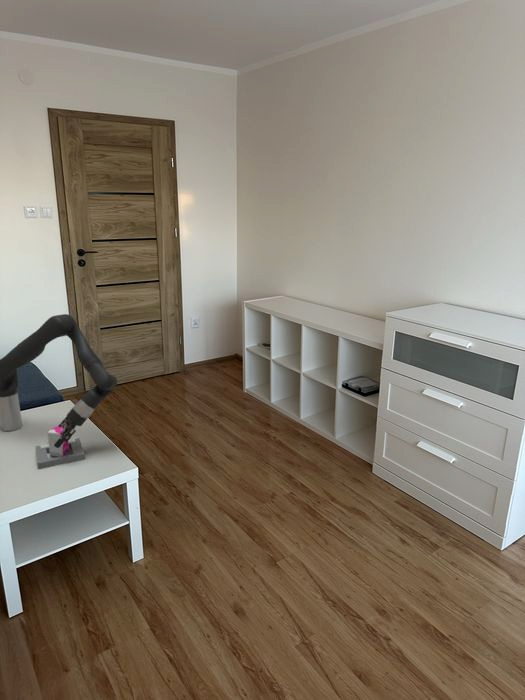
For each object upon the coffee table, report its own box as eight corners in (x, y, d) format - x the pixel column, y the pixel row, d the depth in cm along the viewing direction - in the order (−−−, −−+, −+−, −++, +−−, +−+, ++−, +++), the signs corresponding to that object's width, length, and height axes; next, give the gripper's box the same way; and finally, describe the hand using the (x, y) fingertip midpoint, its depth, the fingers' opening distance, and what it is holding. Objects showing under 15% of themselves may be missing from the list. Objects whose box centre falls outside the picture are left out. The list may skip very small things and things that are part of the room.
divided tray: (36, 451, 215) (35, 445, 214) (79, 442, 222) (79, 437, 222) (38, 469, 201) (37, 462, 200) (85, 459, 209) (84, 453, 208)
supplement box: (62, 458, 207) (59, 433, 204) (49, 456, 208) (46, 432, 205) (70, 451, 212) (67, 427, 209) (57, 450, 214) (54, 426, 210)
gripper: (71, 401, 214) (46, 431, 212) (75, 414, 201) (48, 445, 200) (85, 410, 217) (60, 439, 216) (90, 423, 205) (64, 454, 204)
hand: (55, 442), depth 208 cm, fingers closed on supplement box, 8 cm apart
